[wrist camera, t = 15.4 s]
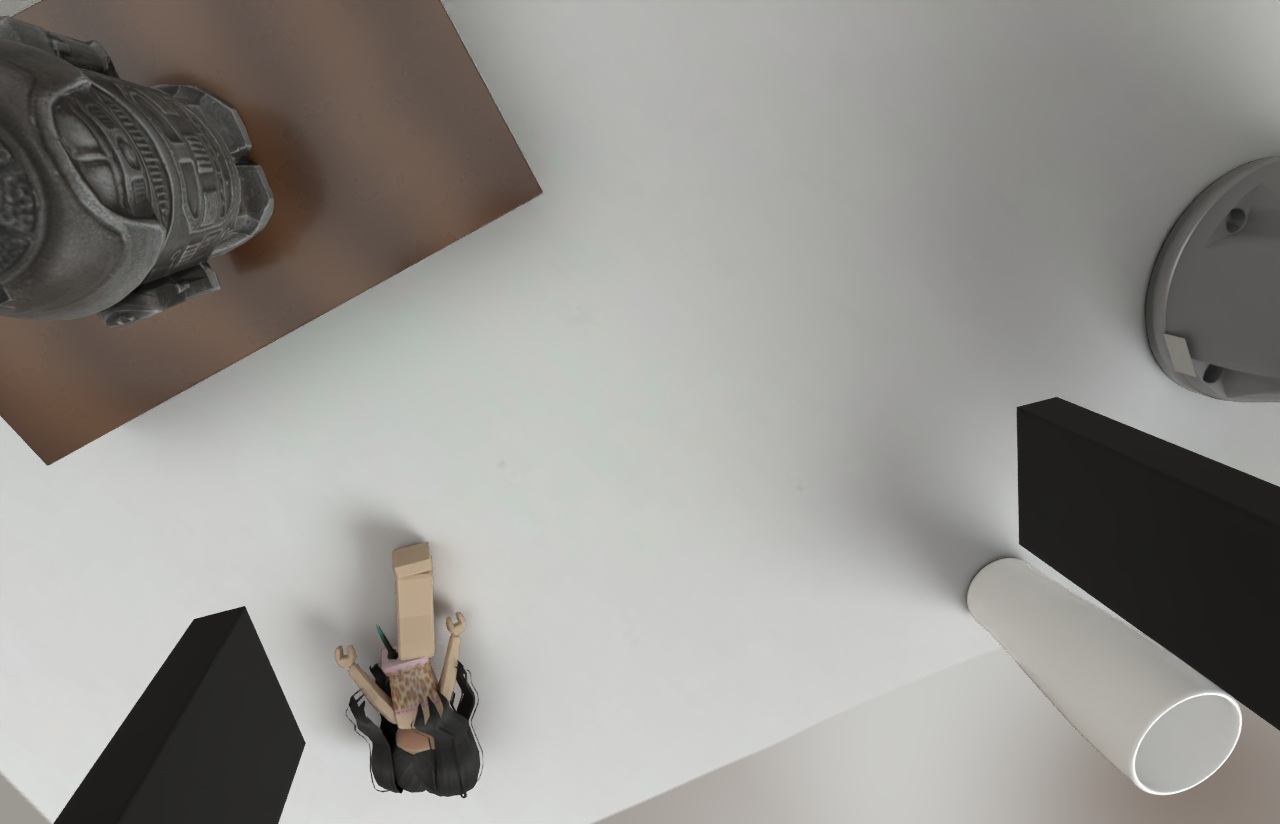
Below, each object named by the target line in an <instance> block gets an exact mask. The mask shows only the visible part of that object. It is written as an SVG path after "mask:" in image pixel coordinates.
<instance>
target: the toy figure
mask: <svg viewBox="0 0 1280 824" xmlns="http://www.w3.org/2000/svg"><path fill="white" fill-rule="evenodd" d="M393 570H394V574H395V585H396V606H397V631H398V645H397V646H393V647H392V646H391V644H390V643H389V641H388V640H387V638H386V636H385V635H384V633H383V632H382V630H381V628H380V627H379V626H378V625H377V624H376V625H377V630H378V632H379V634H380V637H381V639H382V641H383V643H384V645H385V647H386V649H383V650H381V664H382V670H383V671H382V670H381V669H380V667H379V666H378V664H379V663H378V664H376V665H374V667H373V668H371V665H370V667H369V669H370V671H371V672H372V674H373V675H374V677H375V679H376V681H375V682H374V681H373V680H372V679H371V678H370V677H369V676H368V675H367V673H366V672H365V671H364V670H363V669H362V668H361V667H360V666H359V665H358V664H356V663H355V662H354V661H355V659H356V657H357V654H356V649H355V648H354V647H353V645H350V646H349V647H348V655H344V654H343V649H342V646H339V647H338V648H336V650H335V652H334V653H335V660H336V662H337V664H338V665H339V666H340V667H343V668H346V667H348V668H349V670H348V672H349V674H350V675H351V677H352V678H353V680H354V681H355V683H356V684H357V685H358V687H359V688H360V690H361V691H362V693H363V695H362V696H361V697H359V698H358V699H357V700H355V698H354V695H355V694H357V693H358V692H359V691H360V690H359V691H357V692H356V693H355V694H354V695H353V696H351V698H350V702H349V707H350V708H351V709H350V710H351V711H352V713H353V715H354V717H355V719H356V722H357V726H358V729H359V730H360V731H361V732H363V733H364V734H365V735H366V736H368V737H369V739H370V740H371V741H372V742H373V747H372V755H371V751H370V772H371V767H372V772H373V775H374V778H375V780H376V782H377V784H378V785H379V786H381V787H383V788H384V789H387V791H392V792H395V793H402V792H403V789H404V790H406V791H409V792H423V791H425V790H427V791H428V792H429V793H433V794H436V795H438V796H446V797H449V796H454V795H461V797H462V798H466V797H467V794H466V792H467V791H469V790H470V789H472V788H473V787H474V786H475V784H476V783H477V781H478V780H479V779H478V780H477V778H478V773H479V768H480V757H479V750H478V748H477V745H476V742H475V740H474V737H473V734H472V732H471V729H470V726H469V718H470V715H471V713H472V710H473V708H474V705H475V696H474V692H473V691H472V689H471V687H470V686H469V684H468V682H467V673H466V671H465V669H464V668H463V665H462V664H461V663H460V662H459V661H458V656H459V647H460V637H458V634H460V633H462V632H463V630H464V628H465V619H464V617H463V615H462V614H461V613H459V612H456V617H457V620H458V622H457V623H455V624H453V623H452V620H451V618H450V617H447V619H446V625H447V629H448V630H449V631H450V632H451V636H450V639H449V643H448V648H447V652H446V657H445V661H444V666H443V670H442V673H441V677H440V680H439V684H438V681H437V679H436V676H435V674H434V671H433V668H432V666H431V663H430V661H429V657H433V655H434V654H435V644H434V612H433V574H432V557H431V555H430V548H429V544H428V542H423V543H419V544H415V545H411V546H407V547H403V548H399V549H395V550H394V551H393ZM466 670H467V669H466ZM467 671H469V670H467ZM384 673H385V674H384ZM463 673H464V674H465V678H464V676H463ZM469 673H470V671H469ZM470 674H471V673H470ZM386 676H387V677H389V680H388V682H387V684H386ZM455 680H457V682H458V684H459V686H460V688H461V692H462V696H463V694H464V696H463V698H462V696H461V699H462V701H461V699H460V702H461V703H460V702H459V705H460V706H459V705H458V708H457V711H456V710H455V708H454V706H453V702H454V698H455V693H454V692H453V688H454V684H455ZM471 684H472V683H471ZM472 685H473V684H472ZM473 687H474V686H473ZM474 689H475V688H474ZM475 691H476V690H475ZM476 693H477V691H476ZM452 695H453V697H452ZM477 695H478V693H477ZM363 696H365V697H366V698H367V700H368V701H369V703H370V704H371V705H372V706H373V707H374V708H375V709H376V710H377V711H378V712H379V713H380V715H381V720H382V721H381V725H380V728H379V727H378V726H376V725H375V724H374V723H373V722H372V721H371V720H370V719H369V718H368V717H367V716H366V715H365V712H364V707H365V700H364V701H363V703H362V704H361V705H360V706H359V707H358V704H357V703H358V701H359V700H360V699H361V698H362V697H363ZM451 698H452V701H451ZM478 701H479V698H478ZM449 702H450V704H451V706H452V708H453V710H454V711H453V710H452V709H451V708H450V707H449ZM477 705H478V703H477ZM476 708H477V706H476ZM476 708H475V711H476ZM347 710H348V709H347ZM347 710H346V711H347ZM475 711H474V713H475ZM346 716H347V715H346ZM473 716H474V714H473ZM473 716H472V718H473ZM347 717H348V716H347ZM349 720H350V719H349ZM350 721H351V720H350ZM351 722H352V721H351ZM352 723H353V722H352ZM353 724H354V723H353ZM471 726H472V719H471ZM472 728H473V727H472ZM354 730H355V731H356V725H355V724H354ZM473 731H474V729H473ZM474 733H475V732H474ZM358 734H359V733H358ZM359 735H360V734H359ZM360 736H361V735H360ZM475 736H476V734H475ZM362 737H363V736H362ZM363 738H364V737H363ZM476 738H477V737H476ZM364 739H365V738H364ZM366 741H367V740H366ZM477 741H478V739H477ZM478 743H479V742H478ZM368 744H369V743H368ZM479 746H480V744H479ZM369 747H370V744H369ZM480 748H481V747H480ZM481 751H482V749H481ZM482 755H483V751H482ZM482 769H483V767H482ZM481 773H482V772H481ZM480 776H481V774H480ZM371 778H372V773H371ZM479 778H480V777H479ZM372 783H373V778H372ZM373 786H374V784H373ZM374 788H375V786H374ZM375 789H376V788H375ZM376 790H377V789H376ZM377 791H379V790H377ZM380 792H386V791H380ZM462 794H464V797H463V796H462Z"/></svg>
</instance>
